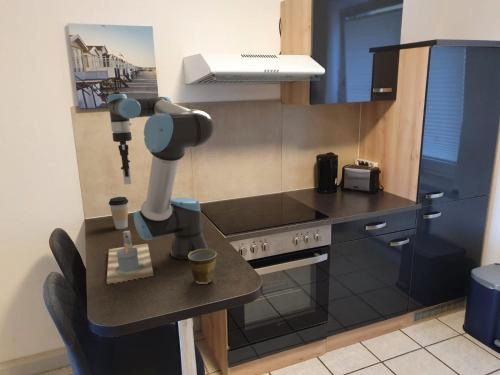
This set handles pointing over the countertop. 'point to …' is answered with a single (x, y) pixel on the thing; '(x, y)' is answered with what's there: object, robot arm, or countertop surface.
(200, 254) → the ceramic cup
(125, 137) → the robot arm
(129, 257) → the cap
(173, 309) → the countertop surface
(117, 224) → the coffee cup
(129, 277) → the bayonet board
